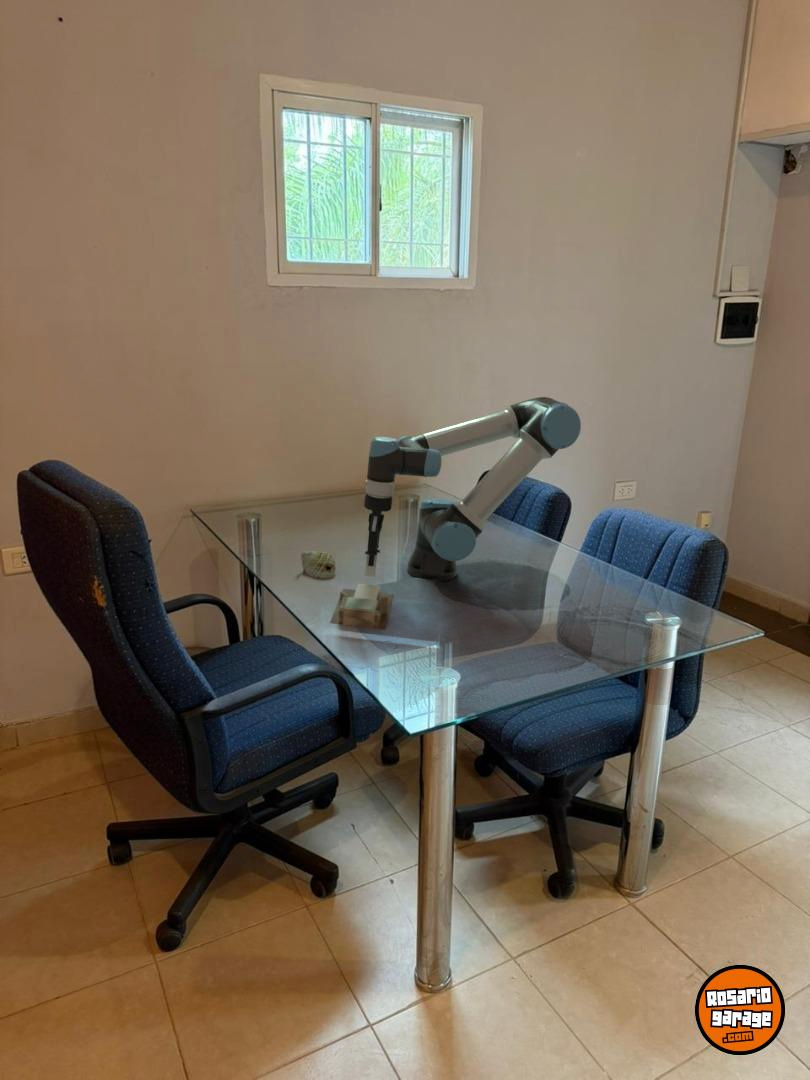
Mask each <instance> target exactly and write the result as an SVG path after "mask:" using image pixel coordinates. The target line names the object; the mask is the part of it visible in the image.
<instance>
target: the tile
mask: <svg viewBox="0 0 810 1080" xmlns="http://www.w3.org/2000/svg"><path fill="white" fill-rule="evenodd" d="M380 588H381V585H374V584H373V585H372V584H365V583H357V585H356V589H355V590H356V591H355V594H354V598H362V599H371V600H377V599H378V595H379V593H380Z"/></svg>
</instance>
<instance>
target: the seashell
mask: <svg viewBox="0 0 810 1080" xmlns="http://www.w3.org/2000/svg"><path fill="white" fill-rule="evenodd" d="M300 560H301V564H302V565H301V566H302V570H303V571H304V572H305V573H306V574H307V575H308V576H310V577H313V578H316V579H321V580H322V579H323V580H324V579H327V580H328V579H332V578H334V577H335V572H336V562H335V559H334V557H333V555H331V554H330V553H328V552H327V551H323V550H319V551H318V550H317V551H314V550H304V551H302V552H301V556H300Z"/></svg>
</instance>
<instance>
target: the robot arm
mask: <svg viewBox="0 0 810 1080" xmlns="http://www.w3.org/2000/svg"><path fill="white" fill-rule="evenodd" d="M581 429H582V427H581V418H580V416H579V414H578V412H577V411H576V410H575V408H573V407H572V406H570V405H568V403H565V402H560V401H558V400H556V399H553V398H551V397H547V396H539V397H534V398H531V399H530V398H529V399H528V400H524V401H521V402H517V403H514V404H510V405H508V406H506V407H505V408H504V410H502V411H499V412H496V413H492V414H488V415H485V416H482V417H479V418H475V419H471V420H469V421H464V422H461V423H458V424H455V425H452V426H451V425H450V426H447V427H444V428H441V429H437V430H434V431H431V432H427V433H423V434H420V435H416V436H410V435H405V436H401V437H400V438H398V439H396V438H393V437H388V436H376V437H374V438H372V440H371V443H370V446H369V447H370V448H369V452H368V464H367V475H366V480H364V483H363V484H364V485H366V486H365V492H366V493H365V494H364V502H363V507H364V508H365V510H366V509H367V510H368V511H369V510H370V511H371V512H370V513H369V515H368V529H367V530H368V538H367V539H368V540H367V541H368V542H367V550H366V551H364V555H366V563H365V573H364V576H365V577H373V578H375V576H376V570H377V569H376V568H377V560H378V554H380V553H381V550H380V549H379V548H380V545H379V542H380V538H381V537H380V535H381V532H382V528H383V522H384V519H385V514H383V512H384V513H385V512H389V511H391V510H392V505H393V504H392V503H393V495H394V489H395V481H396V480H395V478H396V475H399V476H410V477H411V476H412V477H413V476H414V477H421V478H422V477H424V478H434V477H435V478H436V477H437V476H438V475H439V474H440V472H441V468H442V457H443V456H448V455H450V454H454V453H458V452H461V451H464V450H468V449H471V448H475V447H478V446H482V445H484V444H485V445H486V444H488V443H492V442H495V441H498V440H503V439H507V438H508V437H512V438H514V439H517V440H516V441H515V442H514V443H513V445H512V446H511V447H510V448H509V449H508V450H507V451H506V452H505V453H504V454H503V456H502V457H501V458H500V459H499V460H498V461H497V462H496V463H495V464H494V466H492V468H491V469H489V470H488V472H487V473H486V474H485V475H484V476H483V477H482V478H481V480H480V481H479V482H477V484H476V485H475V486H474V487H473V488H472V490H471V489H470V492H468V494H467V495H466V496H465V497H464V498H463V499H462V500H461V501H455V500H451V499H445V498H424V499H423V500H421V502H420V507H419V508H418V510H419V514H418V520H417V521H418V522H417V531H416V541H415V546H414V549H413V551H412V553H411V555H410V558H409V560H408V562H407V567H406V569H407V573H408V574H409V575H411V576H413V577H415V578H417V579H423V580H430V581H440V582H447V581H448V580H449V581H452V580H454V579H455V578H456V577H457V573H458V567H457V561H461V560H464V559H466V558H468V557H469V556H470V555H471V554H472V553H473V551H474V549H475V548H476V544H477V539H478V537H479V536H480V535H481V534H482V533H483V531H484V522H486V521H487V519H488V518H489V517H490V516H491V515H492V514H493V512H494V511H496V510H497V509H498V508H499V506H500V505H501V504H502V503H504V500H506V499H507V498H508V496H510V495H511V493H512V492H513V491H514V490H516V488H517V487H518V485H520V484H521V483H522V482H523V481H524V479H525V478H526V477H527V476H528V475H529V474H530V473H531V472H532V471H533V470H534V469H535V467H537V465H538V464H539V463H540V462H541V461H542V460H543V459H544V460H545V459H552V457H553V456H554V455H555V454H556V453H557V452H559V450H563V449H567V448H569V447H571V446H572V445H574V444H575V442H576V441H577V439H578V438H579V436H580V433H581ZM455 576H456V577H455ZM454 577H455V578H454ZM453 578H454V579H453ZM451 579H452V580H451ZM449 581H448V582H449Z"/></svg>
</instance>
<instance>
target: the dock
mask: <svg viewBox="0 0 810 1080" xmlns="http://www.w3.org/2000/svg"><path fill="white" fill-rule="evenodd" d="M355 591H356V589H349V588H342V591H340V594H339V599H338V600H337V604H336V606H335V609H334V611H333V613H332V616H331V619H330V622H329V623H330V624H335V625H344V626H351V627H352V626H353V627H361V628H367V629H368V628H369V629H375V630H383V631H384V630H385V631H386V630H387V627H388V623H389V618H390V614H391V608H392V604H393V599H394V594H393V593H392V594H391V593H383V592H379V595H378V599H377V600H371V599H362V598H354V594H355Z"/></svg>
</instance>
